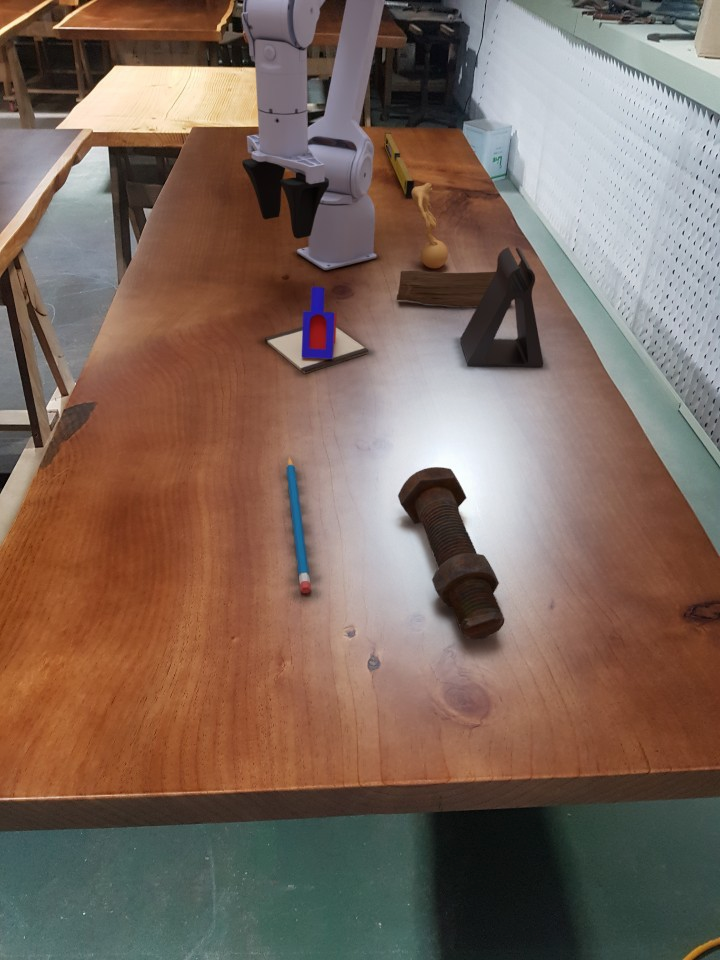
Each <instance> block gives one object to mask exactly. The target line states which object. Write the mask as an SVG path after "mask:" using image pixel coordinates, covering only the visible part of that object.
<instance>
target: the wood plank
mask: <svg viewBox="0 0 720 960" xmlns="http://www.w3.org/2000/svg"><path fill="white" fill-rule="evenodd" d="M495 273H496V271H480V272H478V271H477V272H441V271H427V270H426V271H425V270H417V269H416V270H401V271H400V275H399V285H398V292H397V294H396V301H408V302H415V303H420V304H422V305H437V306H447V307H454V308H468V307H469V308H470V307H471V308H474V307H475V308H477V307H478V305H479V303H480V301H481V299H482V297H483V296H484V294H485V292H486V290H487V288H488V286H489V285H490V283H491V281H492V279H493V277H494V275H495ZM511 306H512V302H511V303H510V306H509V308H510V307H511Z"/></svg>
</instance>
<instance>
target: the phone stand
mask: <svg viewBox="0 0 720 960" xmlns="http://www.w3.org/2000/svg"><path fill="white" fill-rule="evenodd" d="M515 252H516V254H517V255H518V258H519V259H520V261H519V263H518V262H517V260H516V259H515V257H514V254H513V253H512V251H511V248H510V247H509V246H507V247H504V249H502V250H501V251H500V252H499V255H498V256H497V261H496V270H495V272H496V273H495V275H494V277H493V279H492V281H491V283H490V285H489V286H488V288H487V290H486V292H485V294H484V296H483V297H482V299H481V301H480V303H479V305H478V307H476V309H475V310H474V312H473V314H472V316H471V318H470V319H469V322H468V323H467V325H466V327H465V329H464V330H463V332H462V335H461V336H460V339H459V340H460V343H461V347H462V350H463V353H464V356H465V360H466V363H467V365H468V367H500V368H501V367H504V366H506V368H507V367H510V368H542V367H543V366H544V360H543V359H544V358H543V354H542V347H541V342H540V336H539V331H538V325H537V320H536V319H537V318H536V314H535V307H534V302H533V290H534V289H533V288H534V286H535V283H536V275H535V273H534V271H533V269H532V267H531V266H530V264H529V262H528V260H527V258H526V256H525V254H524V253H523V251H522V249H520V248H519V247H516V248H515ZM513 301H514V311H515V321H516V333H517V334H516V335H517V338H515V339H507V338H505V339H503V338H502V339H501V338H499V339H498V338H496V336H497V333H498V331H499V330H500V327H501V325H502V323H503V320H504V318H505V316H506V314H507V312H508V310H509V308H510V307H509V306H510V303H511V304H512V302H513Z"/></svg>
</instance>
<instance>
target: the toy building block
mask: <svg viewBox="0 0 720 960" xmlns="http://www.w3.org/2000/svg"><path fill="white" fill-rule="evenodd" d="M310 291H311V292H310V310H303V311H302V327H303V331H302V357H305V358H323V359H333V347H334V343H335V342H336V328H337V320H338V319H337V318H338V314H337V313H336V312H331V311H325V287H322V286H311V289H310Z"/></svg>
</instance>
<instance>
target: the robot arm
mask: <svg viewBox="0 0 720 960" xmlns="http://www.w3.org/2000/svg"><path fill="white" fill-rule="evenodd" d="M385 1H386V0H346V1H345V6H344V11H343V18H342V22H341V28H340V31H339V37H338V42H337V48H336V52H335V57H334V62H333V63H334V64H333V67H332V68H333V69H332V73H331V79H330V84H329V89H328V94H327V98H326V99H327V100H326V104H325V110H324V115H323V116H322V117H321V118H319V119H318V120H316V121H315V122H313V123H312V124H311V125H309V124H308V121H309V120H308V118H309V117H308V47H309V45H311V44H312V43H313V40H314V38H315V33H316V28H317V23H318V21H319V19H320V14H321V11H320V9H321V7H322V6H323V5H324V3H325V2H326V0H243V3H242V13H241V23H242V28H243V31H244V35H245V36H246V40H247V42H248V47H249V48H248V51H249V57H250V60H251V62H254V66H255V68H254V69H255V85H256V88H255V89H256V104H257V105H256V107H257V125H258V127H257V128H258V134H252V135H247V136H246V144H247V147H246V148H247V153H248V154H250V155H251V158H245V159H243V160H242V161H241V163H242V168H243V169H244V170H245V172H246V173H247V176H248V178H249V180H250V182H251V185H252V187H253V189H254V193H255V195H256V200H257V202H258V207H259V210H260V213H261V217H262V219H264V220H270V219H275V218H279V217H280V214H281V213H280V212H281V205H282V189H283V192H284V194H285V197H286V200H287V201H286V202H287V204H288V209H289V215H290V223H291V230H292V231H291V232H292V236H293V237H294V238H295V239H297V240H298V239H302V238H307V242H308V243H307V244H308V245H307V246H306V247H303V248H298V249H297V250H296V253H297V254H298V255H299V256H301V257H303V258H304V259H306V260H307V261H309V262H310V263H312V264H313V265H315V266H317V267H318V268H320V269H322V270H323V271H330V270H333V269H338V268H341V267H345V266H349V265H354V264H359V263H362V262H366V261H370V260H374V259H377V254H376V253H375V252H374V249H375V248H374V247H375V231H376V230H375V229H376V211H375V210H376V209H375V205H374V202H373V200H372V198H371V196H370V195H369V194H368V191H369V190H370V187H371V184H372V179H373V172H374V171H373V170H374V168H373V167H374V166H373V164H374V163H373V161H374V156H375V155H374V154H375V147H374V144H373V142H372V141H373V140H372V139H371V138H370V136H369V135H368V134H367V133H366V132H365V131H364V129H363V128H362V127H361V126H360V123H361V117H362V113H363V107H364V104H365V98H366V94H367V88H368V85H369V84H368V83H369V79H370V74H371V70H372V64H373V59H374V54H375V49H376V44H377V39H378V35H379V29H380V24H381V20H382V15H383V10H384V6H385ZM308 125H309V126H308ZM286 170H288V171H290V172H292V173H294V177H289V178H284V175H285V172H286Z"/></svg>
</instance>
